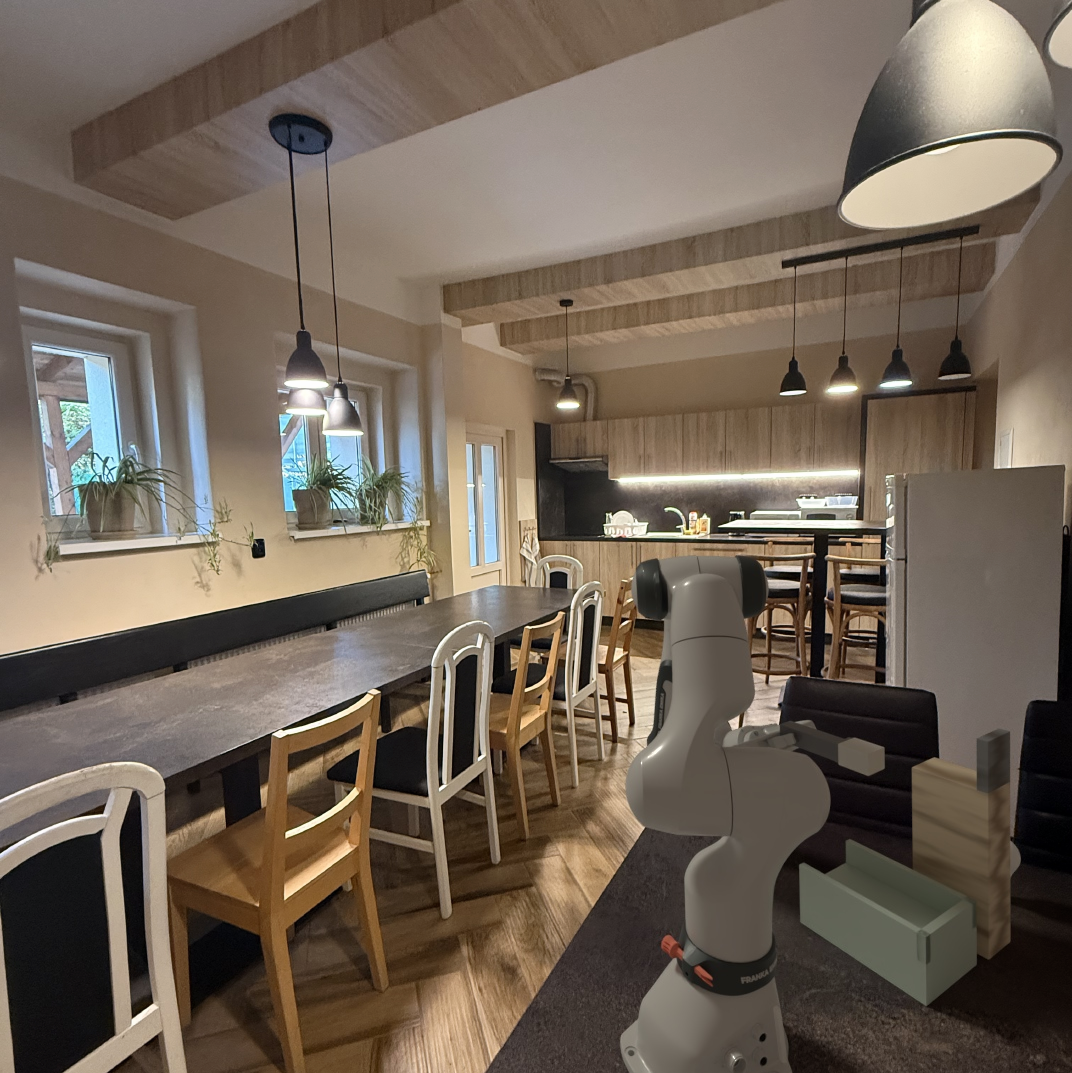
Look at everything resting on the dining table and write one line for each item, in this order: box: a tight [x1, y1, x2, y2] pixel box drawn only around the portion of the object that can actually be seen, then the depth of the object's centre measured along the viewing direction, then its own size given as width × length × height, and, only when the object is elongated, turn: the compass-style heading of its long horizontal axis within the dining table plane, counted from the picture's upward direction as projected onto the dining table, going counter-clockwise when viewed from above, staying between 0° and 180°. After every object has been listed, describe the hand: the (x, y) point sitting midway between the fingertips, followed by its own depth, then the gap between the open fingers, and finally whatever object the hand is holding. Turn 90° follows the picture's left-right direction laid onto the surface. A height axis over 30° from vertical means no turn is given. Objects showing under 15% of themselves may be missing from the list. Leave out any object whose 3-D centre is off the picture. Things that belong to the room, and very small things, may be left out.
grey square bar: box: [779, 720, 886, 777], centre depth 102 cm, size 4×17×4 cm, turn 30°
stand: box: [911, 728, 1011, 961], centre depth 96 cm, size 7×11×34 cm, turn 30°
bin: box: [798, 838, 978, 1007], centre depth 95 cm, size 14×20×10 cm
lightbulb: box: [1010, 840, 1022, 880], centre depth 104 cm, size 6×6×11 cm
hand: (803, 734), depth 106 cm, fingers closed on grey square bar, 3 cm apart
